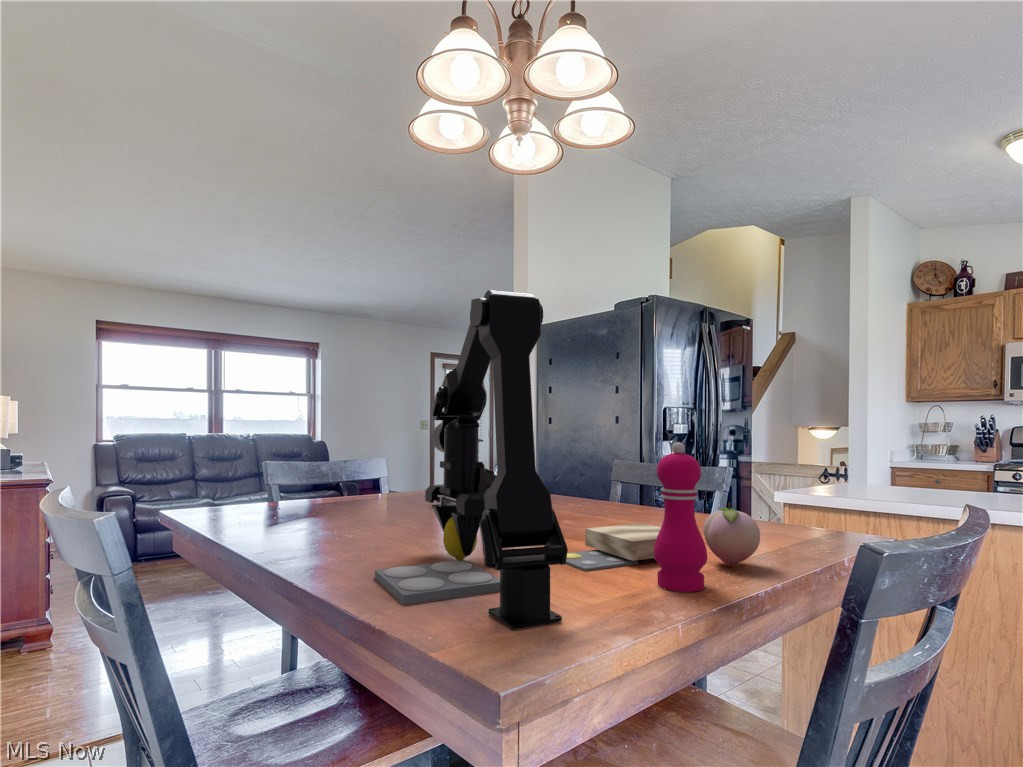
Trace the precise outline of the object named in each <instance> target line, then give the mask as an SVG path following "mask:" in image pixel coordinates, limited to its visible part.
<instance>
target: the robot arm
mask: <svg viewBox="0 0 1023 767" xmlns="http://www.w3.org/2000/svg"><path fill="white" fill-rule="evenodd" d="M470 301H471V303H470V304H471V305H470V312H469V326H468V329H467V332H466V336H465V339H464V342H463V345H462V348H461V351H460V355H459V358H458V362H457V364H456V366H455V368H453V369H451V370H450V371H449V372H446V374H445V376H444V379H443V382H442V384H441V386H439V387H438V390H437V391H436V393H435V396H434V401H433V404H432V408H431V414H432V417H433V421H441V423H439V424H438V425H436V426H435V428H434V429H433V431H432V434H431V440H432V441H431V442H432V444H433V446H434V447H435V449H436V450H438V451H439V452H441V453H443V461H442V460H441V461H439V468H442V469H443V484H442V483H441V484H430V485H429V486H428V487H427V488H426V489H425V491H424V492H425V496H424V497H425V498H424V501H425V502H428V503H434V501H435V504H431V508H432V509H433V511H434V514H435V516H436V518H437V520H438V522H439V524H440V527H441V529H442V532H443V533H444V529H445V526H446V523H447V522H448V520H449V519H450V518H451V517H453V520H454V524H455V527H456V531H457V534H458V538H459V541H460V545H461V548H462V551H463V554H464V555H469V556H470V555H471V554H472V553H473V552H472V549H473V545H474V542H475V539H476V536H477V537H478V532H479V531H480V537H481V544H482V552H483V553H482V555H483V560H484V562H483V566H484V567H485V568H491V569H494V570H495V571H499V579H500V591H499V606H498V607H492V608H489V609H488V612H487V613H488V615H490V616H492V617H493V618H494V619H496V620H497V621H498V622H500V623H502V624H503V625H505V626H507V627H508V628H509V629H511V630H520V629H526V628H531V627H536V626H538V627H539V626H542V625H548V624H553V623H560V622H562V621H563V620H562V619H563V617H562V615H560V614H559V613H557V612H556V611H553V610H551V566H552V565H553V566H554V565H555V566H556V565H560V566H564V565H567V564H566V558H567V553H569V552H568V549H569V548H568V545H567V543H566V540H565V538H564V534H563V531H562V529H561V526H560V524H559V521H558V518H557V515H556V513H555V510H554V508H553V504H552V497H551V491H550V490H549V489H548V487H547V485H546V484H545V482H544V481H543V480H542V478H541V477H540V475H539V473H538V472H537V468H536V467H537V466H536V453H535V452H536V451H535V434H534V416H533V396H532V379H531V361H530V359H531V357H530V356H531V353H532V351H533V350H534V348H535V346H536V344H537V343H538V341H539V339H540V338H541V334H542V324H543V320H544V308H543V305H542V303H541V302H540V299H539V298H537V297H536V296H535V295H534V294H532V293H523V292H515V291H514V292H512V291H503V290H502V291H501V290H491V289H488V290H486V292H485V293H484V295H483V297H481V298H480V297H477V298H474V299H470ZM491 361H492V372H493V373H492V375H493V378H492V379H493V395H494V396H493V398H494V402H493V403H494V421H495V446H496V449H495V450H496V451H495V452H496V469H497V470H496V471H497V472H496V474H495V471H494V470H490V469H488V468H487V467H486V468H485V464H484V462H483V461H479V457H480V456H479V452H480V451H479V449H480V448H479V447H480V446H479V445H480V444H479V443H480V442H479V441H480V440H479V434H480V433H479V431H480V429H479V428H480V423H479V421H480V419H481V418H482V415H483V412H484V411H485V407H486V405H487V398H488V397H487V394H488V393H487V390H486V388H485V382H484V381H485V379H486V378H485V377H486V375H487V372H488V370H489V367H490V365H491V364H490V363H491ZM471 552H472V553H471Z"/></svg>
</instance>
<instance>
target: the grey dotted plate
mask: <svg viewBox="0 0 1023 767" xmlns="http://www.w3.org/2000/svg"><path fill="white" fill-rule="evenodd" d="M638 564H639V560H635V561H632V560H629V559H626V558H623V557H620V556H616V555H613V554H610V553H607V552H604V551H601V550H598V549H591V550H590V549H589V550H581V551H580V550H579V551H574V552H567V558H566V564H565V565H567V566H570V567H573V568H574V569H575V568H576V569H579V570H580V571H582V572H583V571H584V572H589V571H596V570H597V571H598V570H605V569H611V568H620V567H626V566H627V567H628V566H634V565H635V566H636V565H638Z"/></svg>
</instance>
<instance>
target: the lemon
mask: <svg viewBox="0 0 1023 767" xmlns="http://www.w3.org/2000/svg"><path fill="white" fill-rule="evenodd" d="M442 539H443V545H444V548H445V551H446V552H447V553H448V555H449V556H450V557H453V558H455V561H460V560H465V559H466V558H467V557H469V556H470V555H464V554H463V551H462V548H461V545H460V541H459V538H458V534H457V531H456V527H455V524H454V520H453V517H451V518H450V519H449V520H448V522H447V523H446V526H445V529H444V532H443V538H442ZM477 543H478V535H477V536H476V539H475V542H474V545H473V549H472V552H471V554H472V553H473V552H474V551H475V549H476V546H477Z"/></svg>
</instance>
